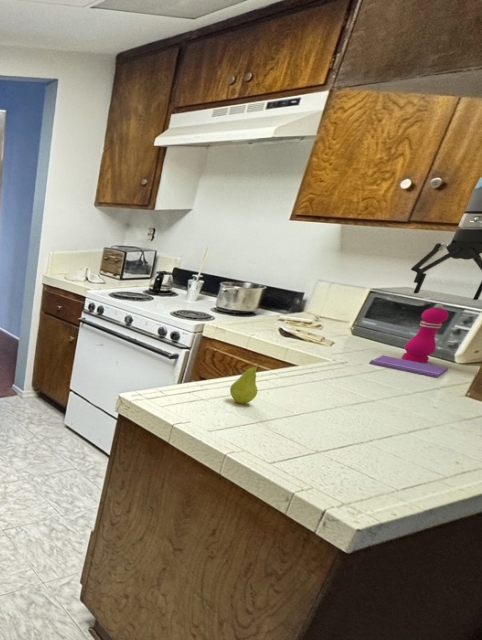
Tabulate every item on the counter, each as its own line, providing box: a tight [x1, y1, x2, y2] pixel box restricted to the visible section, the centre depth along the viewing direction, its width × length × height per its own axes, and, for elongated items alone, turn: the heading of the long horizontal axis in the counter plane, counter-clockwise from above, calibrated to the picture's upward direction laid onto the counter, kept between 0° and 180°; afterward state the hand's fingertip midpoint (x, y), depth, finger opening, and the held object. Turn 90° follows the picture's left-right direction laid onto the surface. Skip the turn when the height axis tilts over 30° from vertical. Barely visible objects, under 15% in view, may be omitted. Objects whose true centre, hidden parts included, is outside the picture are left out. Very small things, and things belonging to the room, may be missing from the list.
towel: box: [368, 354, 449, 379], centre depth 156 cm, size 16×14×1 cm
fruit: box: [229, 361, 264, 405], centre depth 123 cm, size 6×6×12 cm
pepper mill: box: [401, 303, 449, 364], centre depth 160 cm, size 7×7×20 cm
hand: (444, 296), depth 155 cm, fingers open, 13 cm apart
